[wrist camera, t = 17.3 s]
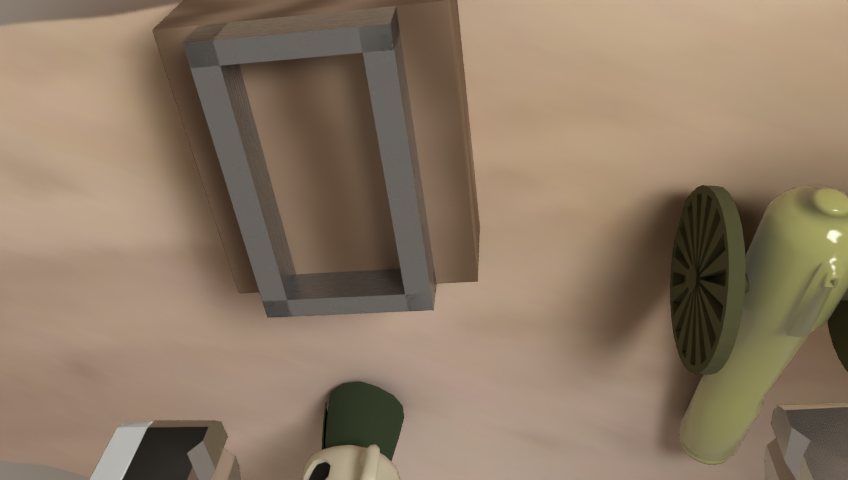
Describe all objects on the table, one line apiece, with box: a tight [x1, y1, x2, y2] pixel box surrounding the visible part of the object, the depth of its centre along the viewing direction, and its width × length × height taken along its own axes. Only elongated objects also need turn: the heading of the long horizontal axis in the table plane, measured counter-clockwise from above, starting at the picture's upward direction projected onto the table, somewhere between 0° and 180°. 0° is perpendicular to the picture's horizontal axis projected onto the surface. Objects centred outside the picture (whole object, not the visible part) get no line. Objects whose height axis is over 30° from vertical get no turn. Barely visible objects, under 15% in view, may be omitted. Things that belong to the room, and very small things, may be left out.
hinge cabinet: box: [152, 0, 480, 318], centre depth 44 cm, size 15×17×8 cm
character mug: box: [301, 382, 404, 480], centre depth 57 cm, size 11×7×13 cm, turn 158°
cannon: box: [670, 185, 848, 465], centre depth 49 cm, size 25×12×11 cm, turn 178°
